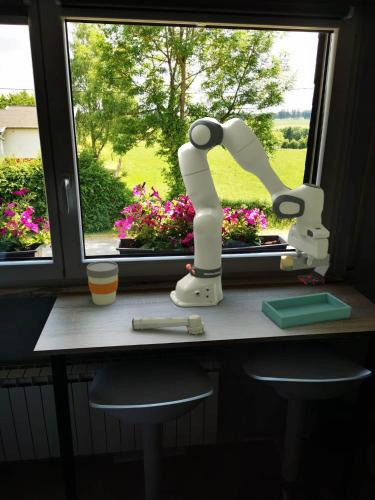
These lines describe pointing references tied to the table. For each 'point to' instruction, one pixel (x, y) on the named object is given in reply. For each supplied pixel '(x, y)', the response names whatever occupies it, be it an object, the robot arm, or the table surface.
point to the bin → (305, 310)
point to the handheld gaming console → (316, 275)
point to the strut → (301, 262)
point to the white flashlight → (170, 323)
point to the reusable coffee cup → (103, 281)
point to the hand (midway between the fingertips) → (303, 262)
